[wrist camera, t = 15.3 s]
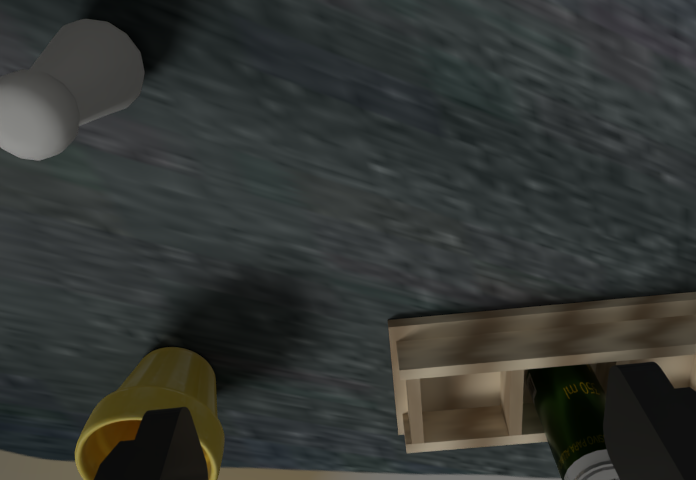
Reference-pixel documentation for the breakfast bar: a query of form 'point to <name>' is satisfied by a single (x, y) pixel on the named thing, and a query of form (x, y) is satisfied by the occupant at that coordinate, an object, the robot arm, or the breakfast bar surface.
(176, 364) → the plant pot
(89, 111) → the salt shaker
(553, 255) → the breakfast bar surface
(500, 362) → the wooden compartment organizer
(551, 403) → the beer can
